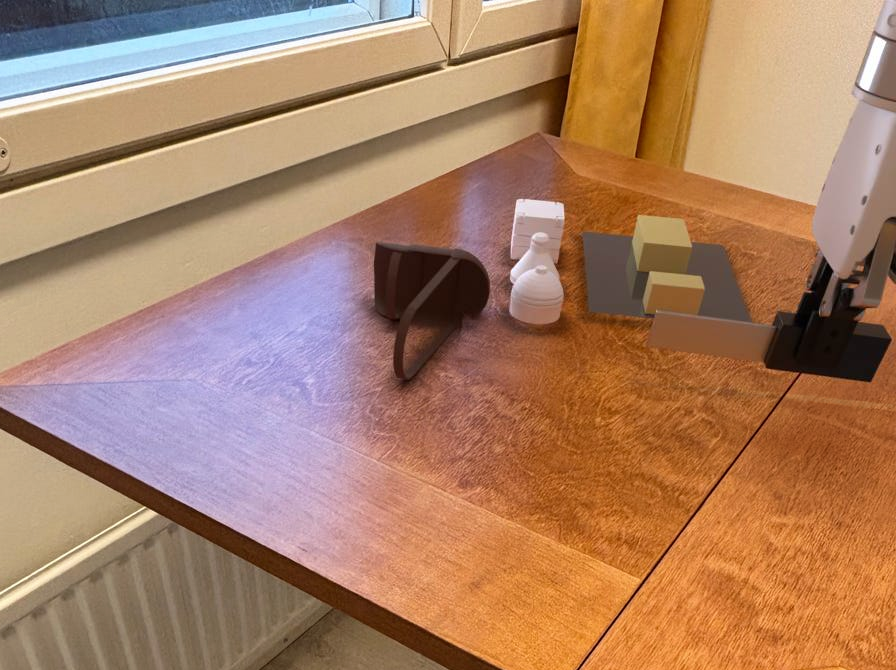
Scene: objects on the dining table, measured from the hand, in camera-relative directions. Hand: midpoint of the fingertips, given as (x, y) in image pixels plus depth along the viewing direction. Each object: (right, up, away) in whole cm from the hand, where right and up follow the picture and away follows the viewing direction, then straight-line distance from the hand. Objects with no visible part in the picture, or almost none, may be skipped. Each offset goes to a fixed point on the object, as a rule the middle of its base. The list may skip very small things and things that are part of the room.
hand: (811, 354), depth 67 cm
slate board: (-4, +16, +27) cm, 31 cm away
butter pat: (-5, +11, +20) cm, 23 cm away
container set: (-18, +14, +24) cm, 33 cm away
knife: (-3, 0, +1) cm, 3 cm away
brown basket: (-30, +5, +14) cm, 33 cm away
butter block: (-4, +20, +29) cm, 35 cm away
